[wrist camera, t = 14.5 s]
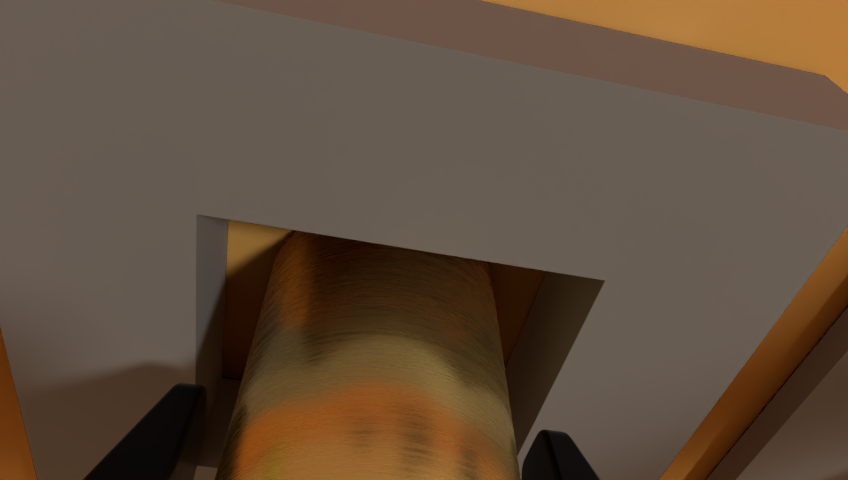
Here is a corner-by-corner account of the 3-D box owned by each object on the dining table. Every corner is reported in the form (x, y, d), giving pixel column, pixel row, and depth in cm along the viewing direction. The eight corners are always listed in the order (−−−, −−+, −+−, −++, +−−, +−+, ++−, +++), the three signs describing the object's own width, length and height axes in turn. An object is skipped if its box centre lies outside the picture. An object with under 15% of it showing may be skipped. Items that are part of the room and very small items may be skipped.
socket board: (825, 75, 9) (909, 143, 8) (566, 497, 16) (583, 581, 14) (8, -102, 8) (-95, -63, 6) (90, 443, 14) (49, 530, 13)
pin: (519, 219, 11) (625, 702, 5) (461, 376, 13) (495, 824, 8) (281, 179, 11) (130, 666, 5) (264, 348, 13) (149, 809, 7)
